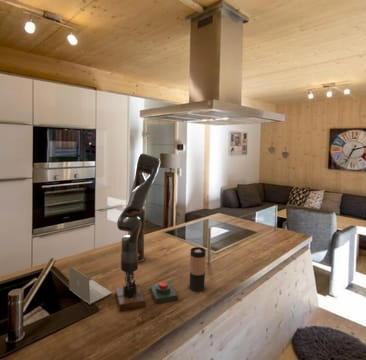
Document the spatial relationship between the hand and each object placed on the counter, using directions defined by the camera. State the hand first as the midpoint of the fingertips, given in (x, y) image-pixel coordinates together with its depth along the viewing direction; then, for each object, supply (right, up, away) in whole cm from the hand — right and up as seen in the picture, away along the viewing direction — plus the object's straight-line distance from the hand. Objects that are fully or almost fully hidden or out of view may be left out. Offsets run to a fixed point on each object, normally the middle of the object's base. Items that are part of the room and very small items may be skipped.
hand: (129, 294), depth 129 cm
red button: (+15, +1, +6) cm, 16 cm away
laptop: (-20, -2, +7) cm, 21 cm away
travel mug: (+32, -2, +13) cm, 34 cm away
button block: (+15, -3, +6) cm, 17 cm away
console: (0, -3, +1) cm, 3 cm away
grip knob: (0, 0, +1) cm, 1 cm away
